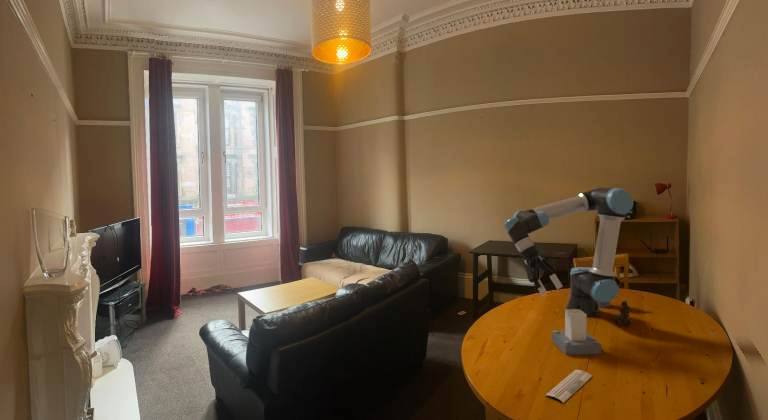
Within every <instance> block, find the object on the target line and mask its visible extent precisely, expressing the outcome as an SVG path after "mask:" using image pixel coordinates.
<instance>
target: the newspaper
mask: <svg viewBox="0 0 768 420" xmlns="http://www.w3.org/2000/svg"><path fill="white" fill-rule="evenodd" d="M592 377H593V375H592V374H590V373H589V372H586V371H584V370H580V369H575V370H574V369H573V371H572V372H570V374H568V375H567V376H566V377H565V378H564V379H563V380H561V381H560V382H559V383H558V384H557V385H555V386H554V387H553V388H552V389H551V390H549V391H548V392H547V393H546V394H545V397H552V398H553V397H554V398H555V399H558V400H559V401H561V403H562V404H565V403H566V402H567V400H569V399H570V398H571V397H572V396H573V395H574V394H575V393H577V392H578V390H579V389H580V388H582V387H583V386H584V384H586V383H587V382H588V381H589V380H590V379H591V378H592Z"/></svg>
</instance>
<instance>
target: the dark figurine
mask: <svg viewBox="0 0 768 420" xmlns="http://www.w3.org/2000/svg"><path fill="white" fill-rule="evenodd" d="M620 306H621V308H620V310H619V313H620V314H617V315H613V316H612V319H613V320H614V321H616V322H618V323H617V324H616V326H617V327H621V326H622V325H621V324H622V323H623V324H624V325H627V327H631V323H632V320H631V319H630V318H629V316H630V311H631V310H632V308H631V307H630V306H629V305H628V303H627V300H623V301H621V304H620Z"/></svg>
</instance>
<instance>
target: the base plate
mask: <svg viewBox="0 0 768 420" xmlns="http://www.w3.org/2000/svg"><path fill="white" fill-rule="evenodd" d="M551 341H552V342H553V343H554V344H555V345H556V346H557V347H558V348H559V350H560V351H562V353H563V354H564V355H566V356H567V355H568V356H569V355H570V356H573V355H574V356H575V355H601V354H602V343H600V341H598V340H597V339H595V338H594V337H593V336H591V335H590V334H589V332H587V331H586V340H580V341H571V340H570V339H569V338H568V337H567V336H566V335H565V330H562V331H561V330H560V331H559V330H553V331H552V332H551Z"/></svg>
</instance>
